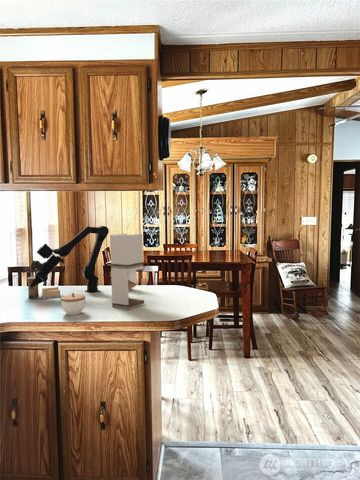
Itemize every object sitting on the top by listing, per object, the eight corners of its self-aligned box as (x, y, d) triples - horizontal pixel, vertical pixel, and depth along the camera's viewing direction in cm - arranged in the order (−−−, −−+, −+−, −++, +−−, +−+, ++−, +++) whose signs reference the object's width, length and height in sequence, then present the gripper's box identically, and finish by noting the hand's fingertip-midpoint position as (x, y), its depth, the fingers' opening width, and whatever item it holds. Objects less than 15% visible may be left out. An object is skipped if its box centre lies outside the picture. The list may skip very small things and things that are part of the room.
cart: (38, 295, 205) (37, 276, 205) (39, 298, 200) (38, 278, 199) (28, 296, 203) (27, 277, 202) (28, 299, 198) (27, 278, 197)
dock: (60, 292, 213) (60, 286, 213) (63, 296, 202) (62, 290, 202) (41, 294, 209) (40, 288, 208) (42, 298, 198) (42, 292, 197)
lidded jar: (76, 309, 175) (76, 289, 174) (90, 312, 168) (89, 292, 167) (56, 314, 166) (55, 293, 166) (70, 318, 160) (69, 296, 159)
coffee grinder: (129, 309, 172) (127, 235, 169) (112, 307, 177) (109, 234, 175) (144, 304, 181) (142, 233, 179) (127, 301, 187) (125, 233, 184)
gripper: (38, 253, 210) (18, 273, 206) (40, 256, 193) (18, 279, 189) (53, 265, 214) (34, 286, 210) (56, 270, 197) (35, 292, 193)
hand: (30, 285), depth 200 cm, fingers closed on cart, 5 cm apart
